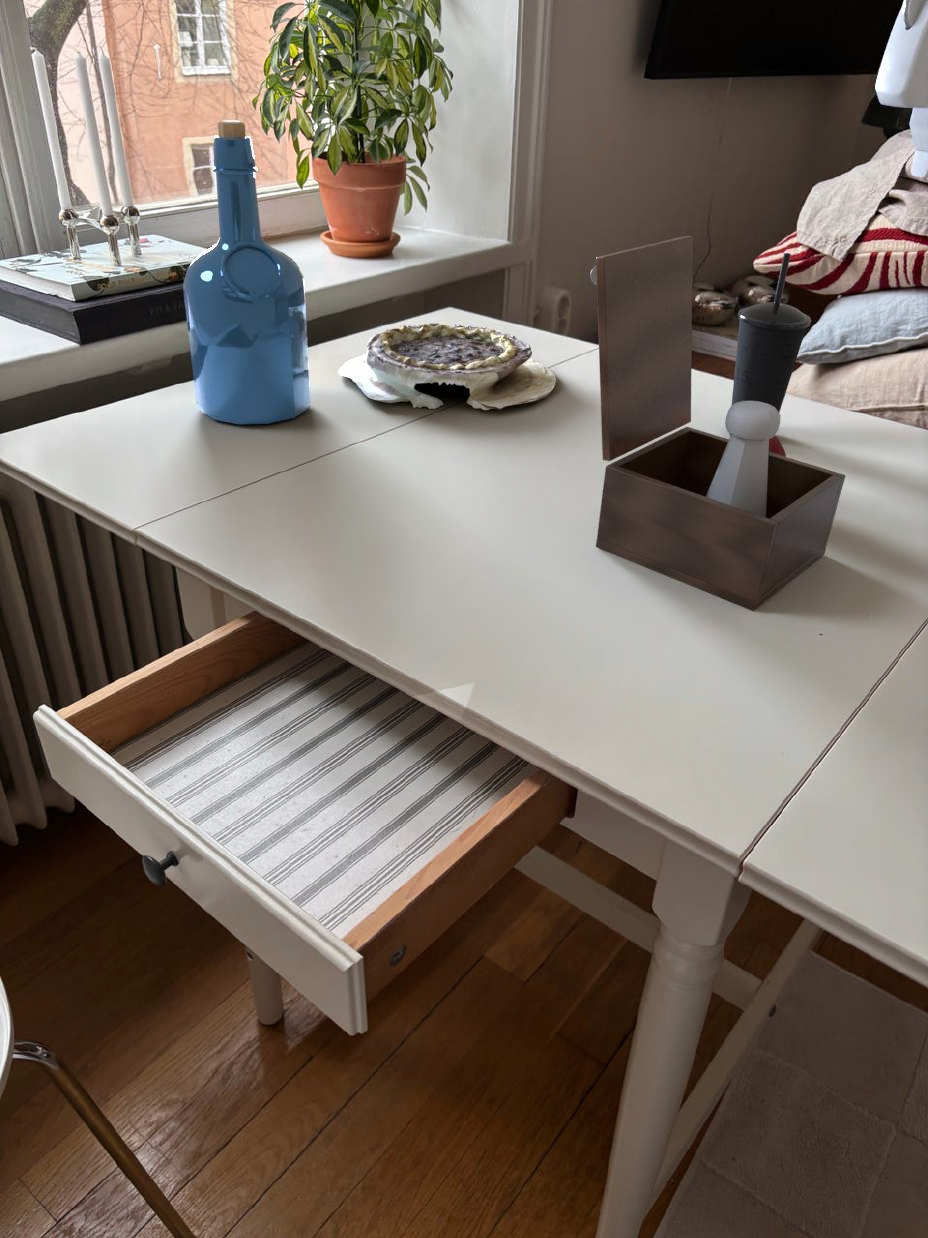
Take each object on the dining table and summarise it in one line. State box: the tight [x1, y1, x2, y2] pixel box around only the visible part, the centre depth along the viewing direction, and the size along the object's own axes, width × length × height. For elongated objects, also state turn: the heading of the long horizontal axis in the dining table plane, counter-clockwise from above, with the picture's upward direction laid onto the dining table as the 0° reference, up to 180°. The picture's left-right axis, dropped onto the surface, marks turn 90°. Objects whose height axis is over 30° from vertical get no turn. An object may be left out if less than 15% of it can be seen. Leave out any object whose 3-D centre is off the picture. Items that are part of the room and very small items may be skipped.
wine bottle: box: [182, 119, 311, 425], centre depth 104 cm, size 14×13×30 cm
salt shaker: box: [706, 401, 781, 518], centre depth 82 cm, size 6×6×13 cm
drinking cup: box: [728, 252, 812, 436], centre depth 105 cm, size 8×8×20 cm
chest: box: [595, 426, 846, 612], centre depth 84 cm, size 16×14×8 cm
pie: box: [337, 322, 557, 411], centre depth 122 cm, size 28×27×5 cm
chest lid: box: [590, 235, 693, 462], centre depth 83 cm, size 16×14×4 cm
